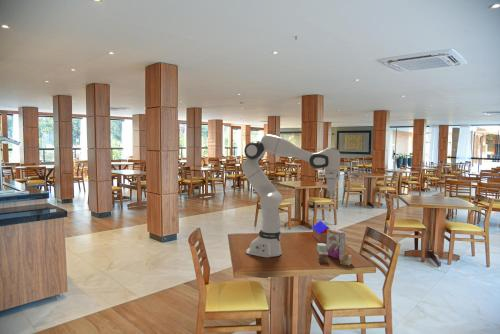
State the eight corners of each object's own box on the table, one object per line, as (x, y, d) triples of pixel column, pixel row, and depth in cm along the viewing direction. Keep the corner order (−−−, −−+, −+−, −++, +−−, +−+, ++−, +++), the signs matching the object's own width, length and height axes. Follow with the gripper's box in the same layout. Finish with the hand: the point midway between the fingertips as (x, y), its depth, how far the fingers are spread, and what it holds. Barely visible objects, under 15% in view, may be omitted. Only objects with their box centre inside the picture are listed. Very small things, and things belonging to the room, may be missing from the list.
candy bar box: (325, 254, 214) (326, 229, 213) (331, 253, 217) (332, 228, 216) (338, 260, 205) (339, 233, 204) (344, 258, 207) (345, 232, 206)
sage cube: (319, 253, 218) (319, 245, 217) (316, 250, 223) (316, 243, 222) (326, 253, 218) (326, 245, 218) (324, 250, 223) (324, 243, 223)
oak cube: (340, 264, 197) (340, 255, 197) (342, 262, 202) (343, 253, 201) (348, 266, 195) (348, 257, 194) (351, 263, 199) (351, 255, 199)
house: (319, 243, 241) (319, 226, 240) (312, 235, 261) (312, 220, 260) (335, 243, 242) (336, 226, 241) (327, 235, 262) (327, 220, 261)
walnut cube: (318, 262, 200) (319, 254, 200) (318, 259, 205) (318, 251, 205) (327, 263, 199) (327, 254, 199) (327, 260, 204) (327, 252, 204)
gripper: (329, 173, 217) (328, 194, 218) (325, 175, 198) (324, 199, 198) (339, 173, 215) (339, 195, 216) (336, 175, 196) (336, 199, 196)
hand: (332, 197), depth 207 cm, fingers open, 8 cm apart
